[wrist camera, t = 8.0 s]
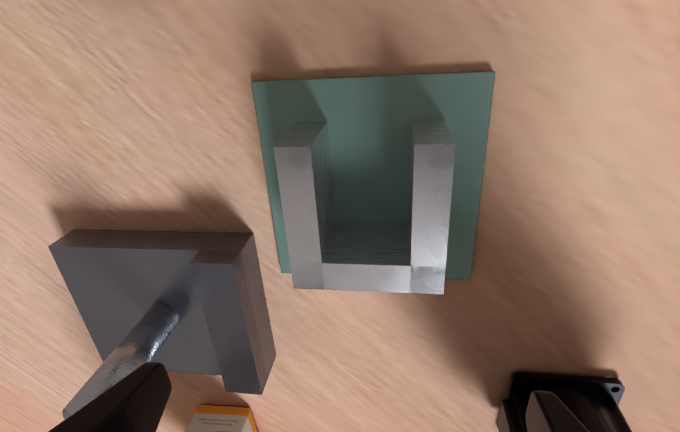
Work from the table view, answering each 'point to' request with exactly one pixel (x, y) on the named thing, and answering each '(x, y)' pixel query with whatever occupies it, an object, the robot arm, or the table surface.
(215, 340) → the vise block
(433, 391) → the table surface
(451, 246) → the green mat
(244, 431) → the supplement box
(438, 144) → the grey u-shaped bracket
